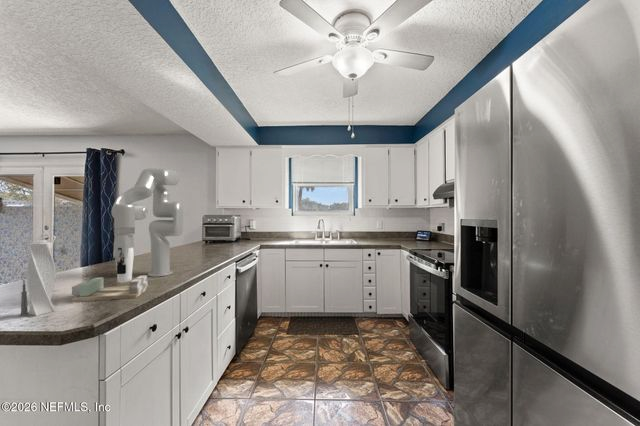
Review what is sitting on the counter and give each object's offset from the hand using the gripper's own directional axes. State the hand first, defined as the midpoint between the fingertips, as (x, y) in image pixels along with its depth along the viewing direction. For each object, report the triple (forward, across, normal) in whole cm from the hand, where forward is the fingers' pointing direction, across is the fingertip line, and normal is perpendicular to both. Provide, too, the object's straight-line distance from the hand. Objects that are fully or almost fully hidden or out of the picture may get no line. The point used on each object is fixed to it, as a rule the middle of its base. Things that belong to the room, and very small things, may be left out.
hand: (124, 271), depth 128 cm
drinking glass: (+5, 0, 0) cm, 5 cm away
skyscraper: (+10, +19, -20) cm, 29 cm away
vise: (+10, 0, -4) cm, 11 cm away
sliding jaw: (+8, 0, -14) cm, 17 cm away
